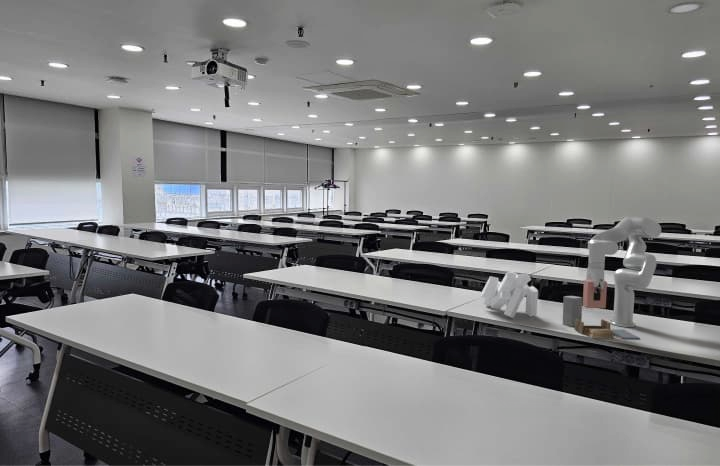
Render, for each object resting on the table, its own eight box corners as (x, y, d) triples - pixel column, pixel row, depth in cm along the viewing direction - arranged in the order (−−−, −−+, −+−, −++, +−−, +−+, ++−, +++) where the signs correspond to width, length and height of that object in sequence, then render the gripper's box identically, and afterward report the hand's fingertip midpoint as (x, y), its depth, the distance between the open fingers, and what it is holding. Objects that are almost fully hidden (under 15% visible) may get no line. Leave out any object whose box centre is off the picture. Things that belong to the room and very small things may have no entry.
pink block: (582, 306, 237) (584, 280, 236) (601, 306, 237) (602, 280, 236) (586, 308, 233) (587, 281, 232) (605, 308, 233) (607, 281, 232)
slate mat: (606, 330, 239) (606, 329, 239) (623, 331, 239) (623, 329, 239) (622, 339, 225) (622, 337, 225) (639, 339, 225) (640, 337, 225)
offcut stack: (587, 335, 230) (588, 328, 229) (608, 335, 230) (609, 328, 230) (591, 337, 226) (592, 330, 225) (613, 338, 226) (613, 331, 226)
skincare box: (572, 327, 245) (573, 298, 243) (560, 323, 251) (562, 296, 250) (582, 325, 249) (584, 297, 247) (571, 322, 255) (572, 294, 254)
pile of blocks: (467, 318, 278) (475, 274, 259) (488, 293, 298) (496, 250, 279) (522, 344, 260) (535, 298, 241) (540, 316, 280) (553, 272, 261)
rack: (574, 329, 239) (575, 318, 239) (602, 330, 239) (603, 319, 239) (581, 333, 232) (581, 322, 232) (609, 334, 232) (610, 323, 232)
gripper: (581, 262, 241) (579, 295, 243) (597, 267, 225) (596, 303, 226) (594, 262, 241) (593, 295, 243) (612, 267, 225) (610, 303, 226)
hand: (594, 299), depth 235 cm, fingers closed on pink block, 4 cm apart
